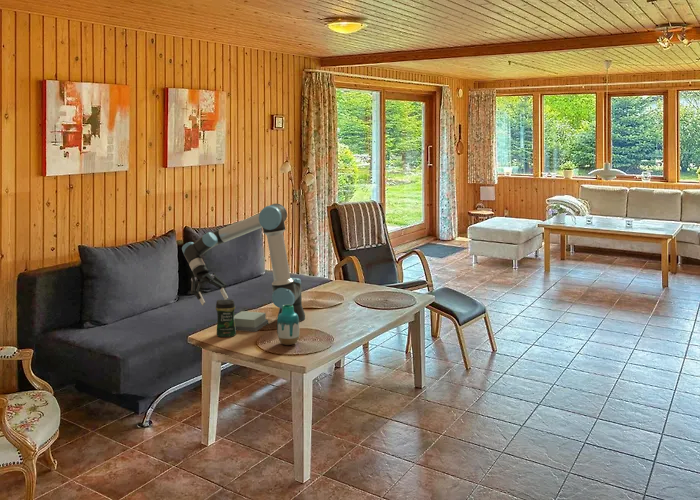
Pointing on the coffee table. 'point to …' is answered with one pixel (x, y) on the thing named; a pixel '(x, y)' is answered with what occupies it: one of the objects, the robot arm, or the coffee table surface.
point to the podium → (250, 321)
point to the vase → (288, 325)
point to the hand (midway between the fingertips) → (215, 301)
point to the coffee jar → (225, 318)
